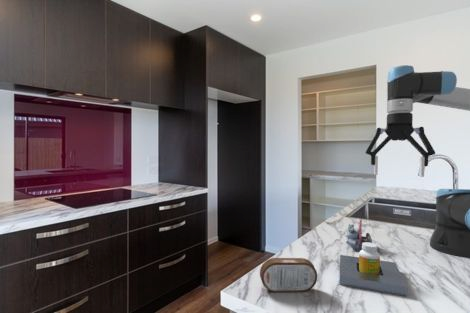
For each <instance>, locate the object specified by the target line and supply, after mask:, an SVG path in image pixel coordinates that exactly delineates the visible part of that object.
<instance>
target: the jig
mask: <svg viewBox="0 0 470 313" xmlns="http://www.w3.org/2000/svg"><path fill="white" fill-rule="evenodd" d="M339 285H340V286H346V287H351V288H356V289H364V290H369V291H373V292H379V293H385V294H390V295H396V296H402V297H408V286H407V284H406V282H405V280H404V277H403V276H402V273H401V271H400V269H399V267H398V265H397V263H396V262H393V261H387V260H381V259H380V272H379V275H376V274H370V273H364V272H359V256H351V255H345V254H340V255H339Z"/></svg>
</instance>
